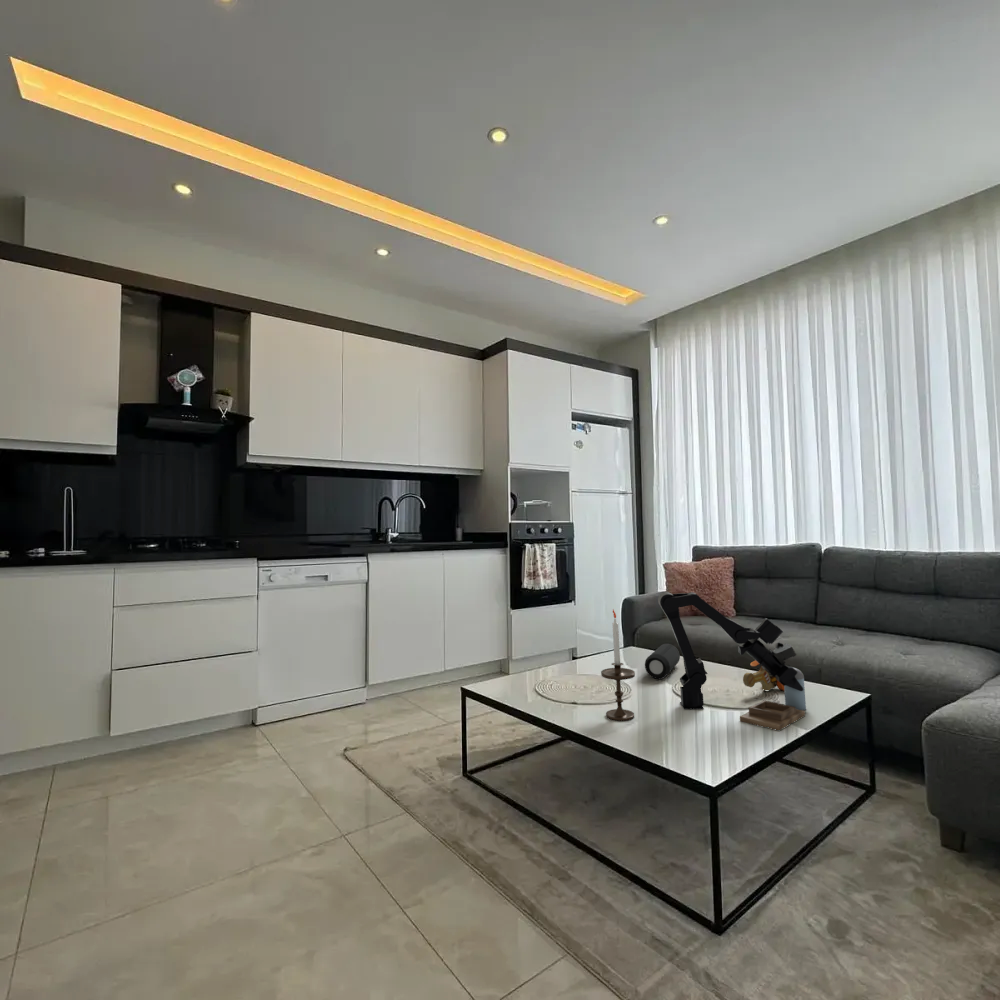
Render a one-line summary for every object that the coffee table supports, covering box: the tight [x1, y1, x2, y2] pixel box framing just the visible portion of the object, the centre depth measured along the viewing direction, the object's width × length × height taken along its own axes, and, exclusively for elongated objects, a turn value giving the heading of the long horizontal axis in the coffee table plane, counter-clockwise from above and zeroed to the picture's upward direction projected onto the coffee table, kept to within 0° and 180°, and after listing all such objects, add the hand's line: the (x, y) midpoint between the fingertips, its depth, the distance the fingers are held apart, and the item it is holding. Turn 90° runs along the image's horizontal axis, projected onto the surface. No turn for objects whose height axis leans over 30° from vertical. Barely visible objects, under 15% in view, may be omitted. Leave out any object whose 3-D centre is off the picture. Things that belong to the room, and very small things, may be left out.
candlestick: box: [600, 608, 636, 722], centre depth 183 cm, size 11×11×35 cm
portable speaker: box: [644, 643, 681, 680], centre depth 233 cm, size 26×10×10 cm, turn 151°
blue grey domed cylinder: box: [783, 667, 807, 711], centre depth 184 cm, size 6×6×13 cm
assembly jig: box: [739, 699, 806, 731], centre depth 175 cm, size 18×12×4 cm, turn 129°
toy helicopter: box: [742, 659, 784, 692], centre depth 201 cm, size 8×21×14 cm, turn 123°
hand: (798, 687), depth 183 cm, fingers closed on blue grey domed cylinder, 6 cm apart
